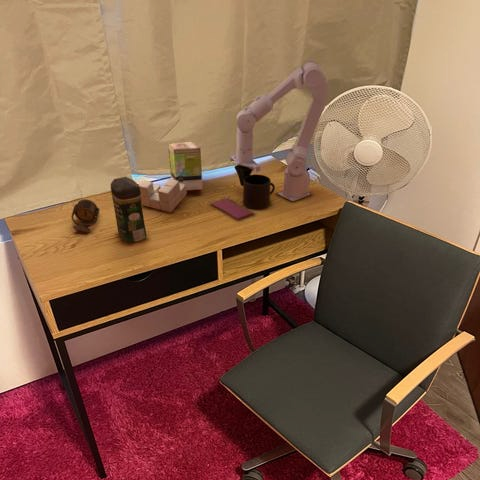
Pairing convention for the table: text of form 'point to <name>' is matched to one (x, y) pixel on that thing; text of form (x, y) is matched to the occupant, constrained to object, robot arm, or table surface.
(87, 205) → the dark brown rounded piece
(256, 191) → the mug
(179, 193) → the puzzle cube
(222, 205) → the cloth
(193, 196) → the table surface
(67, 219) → the table surface
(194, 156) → the tea box
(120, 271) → the table surface
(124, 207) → the coffee jar
